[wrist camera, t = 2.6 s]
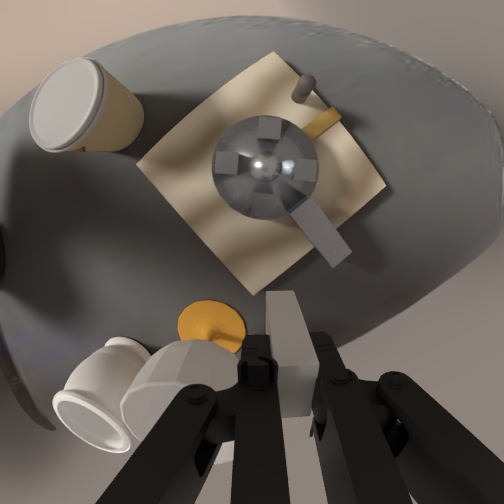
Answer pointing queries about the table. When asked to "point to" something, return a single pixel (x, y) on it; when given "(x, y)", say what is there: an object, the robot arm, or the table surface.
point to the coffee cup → (84, 110)
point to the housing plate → (211, 203)
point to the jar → (101, 394)
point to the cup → (187, 367)
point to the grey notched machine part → (275, 179)
